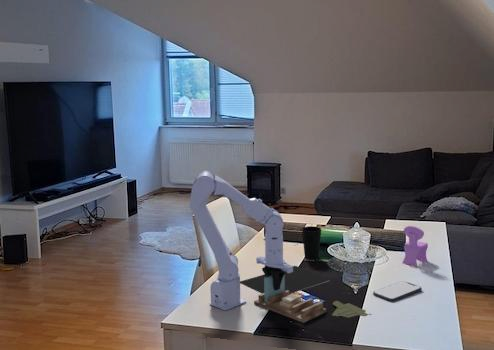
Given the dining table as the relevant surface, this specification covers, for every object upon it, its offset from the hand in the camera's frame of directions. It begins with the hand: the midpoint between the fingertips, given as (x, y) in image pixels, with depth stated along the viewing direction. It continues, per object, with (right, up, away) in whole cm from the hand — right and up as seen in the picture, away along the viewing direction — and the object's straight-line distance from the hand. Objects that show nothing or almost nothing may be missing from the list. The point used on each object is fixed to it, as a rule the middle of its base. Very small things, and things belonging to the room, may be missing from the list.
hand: (274, 288), depth 189 cm
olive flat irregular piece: (+23, -6, -10) cm, 26 cm away
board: (0, -3, +1) cm, 3 cm away
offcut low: (+5, -4, -5) cm, 8 cm away
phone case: (+42, -3, +6) cm, 42 cm away
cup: (+17, +4, +44) cm, 48 cm away
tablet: (+5, -2, +19) cm, 20 cm away
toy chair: (+57, +3, +37) cm, 67 cm away
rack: (+5, -5, -4) cm, 8 cm away
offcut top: (+5, -3, -4) cm, 7 cm away
